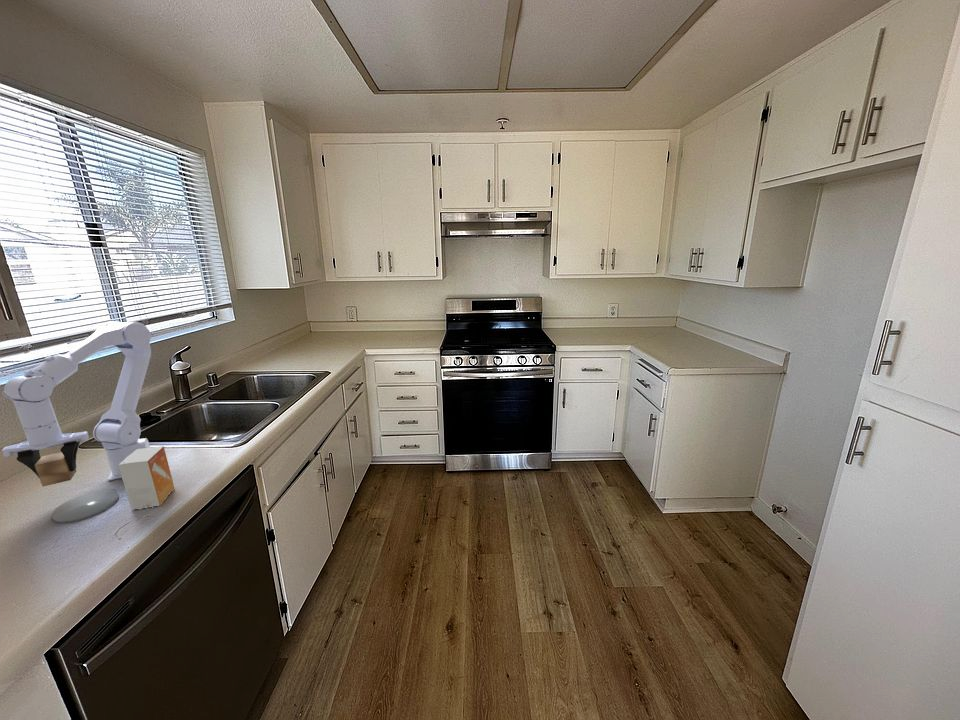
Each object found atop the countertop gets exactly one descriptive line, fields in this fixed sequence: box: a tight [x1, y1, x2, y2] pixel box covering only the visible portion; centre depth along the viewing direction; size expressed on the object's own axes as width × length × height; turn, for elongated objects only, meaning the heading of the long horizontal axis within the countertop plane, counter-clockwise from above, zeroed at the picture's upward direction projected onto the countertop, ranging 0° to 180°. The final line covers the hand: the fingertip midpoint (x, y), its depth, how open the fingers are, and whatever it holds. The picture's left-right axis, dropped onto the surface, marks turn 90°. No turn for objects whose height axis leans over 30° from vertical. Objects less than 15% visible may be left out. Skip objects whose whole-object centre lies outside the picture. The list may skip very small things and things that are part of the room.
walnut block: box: [35, 451, 77, 487], centre depth 99 cm, size 5×5×6 cm
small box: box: [118, 445, 175, 511], centre depth 100 cm, size 8×6×13 cm
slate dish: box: [51, 488, 120, 524], centre depth 99 cm, size 12×12×1 cm
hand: (58, 472), depth 99 cm, fingers closed on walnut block, 5 cm apart
